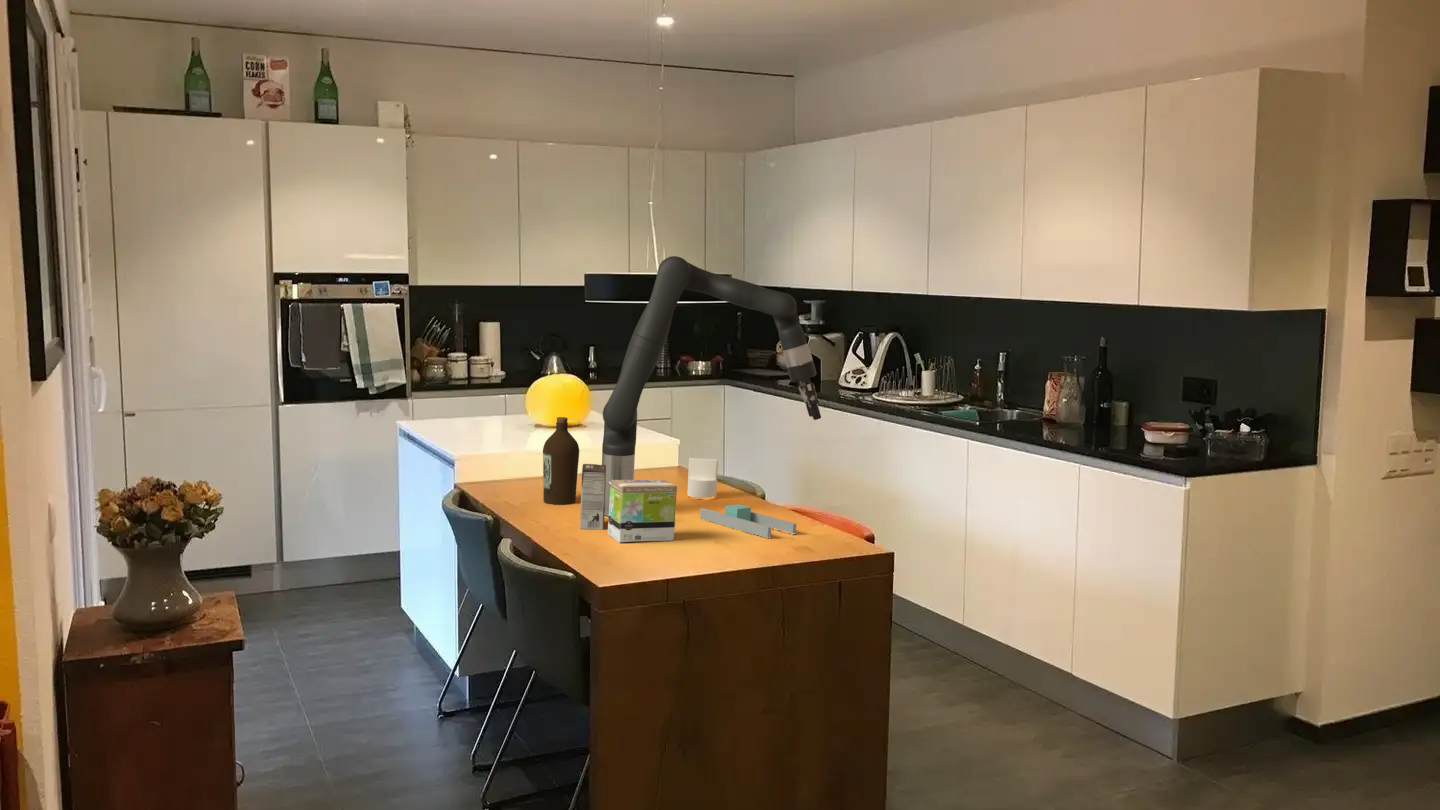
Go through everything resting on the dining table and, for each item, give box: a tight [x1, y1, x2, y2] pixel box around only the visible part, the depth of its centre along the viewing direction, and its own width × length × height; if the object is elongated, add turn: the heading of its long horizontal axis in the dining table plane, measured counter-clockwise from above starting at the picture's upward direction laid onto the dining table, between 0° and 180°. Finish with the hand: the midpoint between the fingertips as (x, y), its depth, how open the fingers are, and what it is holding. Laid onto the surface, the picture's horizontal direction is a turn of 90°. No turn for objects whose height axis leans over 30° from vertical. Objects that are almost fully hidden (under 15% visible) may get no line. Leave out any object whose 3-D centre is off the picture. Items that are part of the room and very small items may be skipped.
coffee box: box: [579, 463, 606, 531], centre depth 307 cm, size 9×6×16 cm
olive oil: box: [542, 416, 580, 506], centre depth 337 cm, size 11×11×25 cm
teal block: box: [724, 503, 752, 521], centre depth 319 cm, size 5×5×5 cm
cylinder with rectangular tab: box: [686, 457, 719, 497], centre depth 355 cm, size 9×9×12 cm
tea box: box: [607, 478, 678, 544], centre depth 295 cm, size 15×10×15 cm, turn 114°
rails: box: [699, 504, 797, 539], centre depth 316 cm, size 10×28×3 cm, turn 40°
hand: (815, 417), depth 322 cm, fingers open, 8 cm apart
